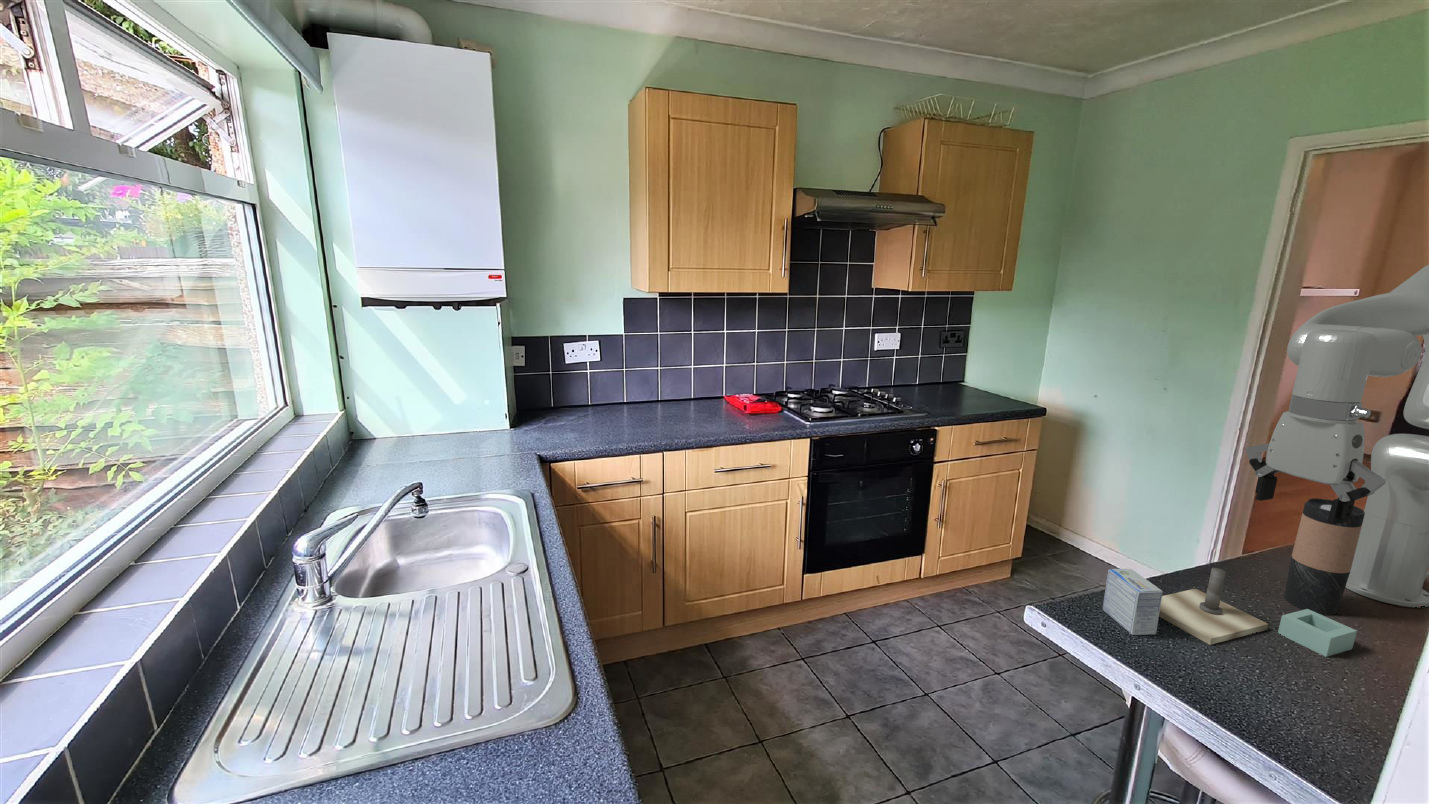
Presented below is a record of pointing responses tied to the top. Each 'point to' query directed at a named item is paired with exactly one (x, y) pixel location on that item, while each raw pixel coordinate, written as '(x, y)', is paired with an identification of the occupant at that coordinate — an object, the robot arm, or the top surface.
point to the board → (1208, 613)
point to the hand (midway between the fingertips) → (1298, 510)
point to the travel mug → (1322, 558)
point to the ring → (1317, 632)
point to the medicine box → (1132, 601)
